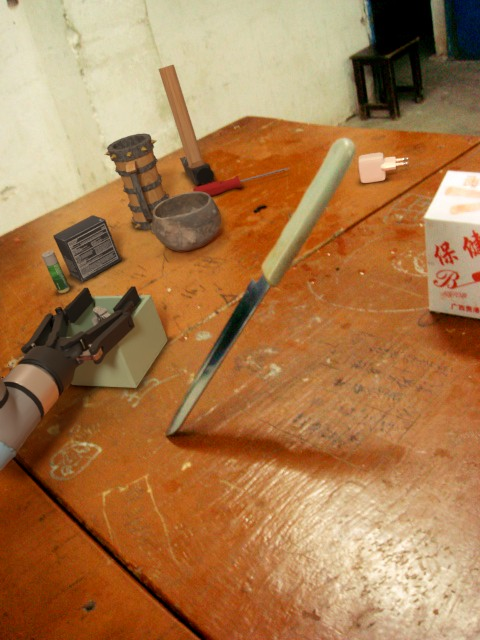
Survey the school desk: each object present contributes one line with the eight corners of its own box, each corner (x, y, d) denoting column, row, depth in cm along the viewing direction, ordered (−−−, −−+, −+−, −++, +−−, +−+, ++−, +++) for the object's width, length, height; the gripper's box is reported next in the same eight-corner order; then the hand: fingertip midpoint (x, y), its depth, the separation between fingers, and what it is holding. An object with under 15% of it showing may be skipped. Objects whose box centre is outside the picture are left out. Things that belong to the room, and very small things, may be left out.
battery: (72, 287, 138) (55, 249, 133) (64, 294, 136) (46, 256, 131) (64, 286, 139) (47, 248, 134) (55, 293, 138) (38, 254, 133)
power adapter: (409, 170, 148) (407, 146, 145) (410, 178, 144) (408, 154, 141) (361, 177, 151) (358, 153, 148) (360, 185, 147) (357, 161, 144)
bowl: (149, 254, 143) (135, 214, 137) (198, 223, 151) (187, 184, 145) (189, 266, 133) (176, 223, 128) (240, 232, 141) (229, 191, 136)
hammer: (186, 178, 185) (152, 71, 173) (202, 173, 185) (169, 66, 174) (198, 187, 166) (161, 67, 155) (216, 180, 167) (180, 61, 156)
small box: (108, 254, 148) (92, 213, 143) (122, 260, 143) (106, 218, 138) (69, 275, 143) (51, 234, 138) (82, 283, 139) (64, 240, 133)
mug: (179, 203, 164) (156, 127, 153) (180, 231, 150) (154, 149, 139) (131, 215, 165) (104, 140, 154) (127, 244, 150) (97, 164, 140)
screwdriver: (292, 176, 161) (289, 163, 159) (196, 202, 162) (193, 190, 160) (289, 172, 164) (287, 159, 162) (195, 197, 165) (192, 185, 163)
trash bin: (72, 385, 107) (49, 339, 102) (107, 339, 117) (88, 295, 112) (136, 387, 103) (116, 340, 97) (167, 340, 112) (151, 294, 107)
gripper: (-10, 398, 97) (68, 312, 114) (110, 405, 88) (174, 311, 105) (-32, 359, 93) (52, 276, 109) (90, 363, 84) (161, 272, 101)
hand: (112, 293), depth 107 cm, fingers open, 9 cm apart
